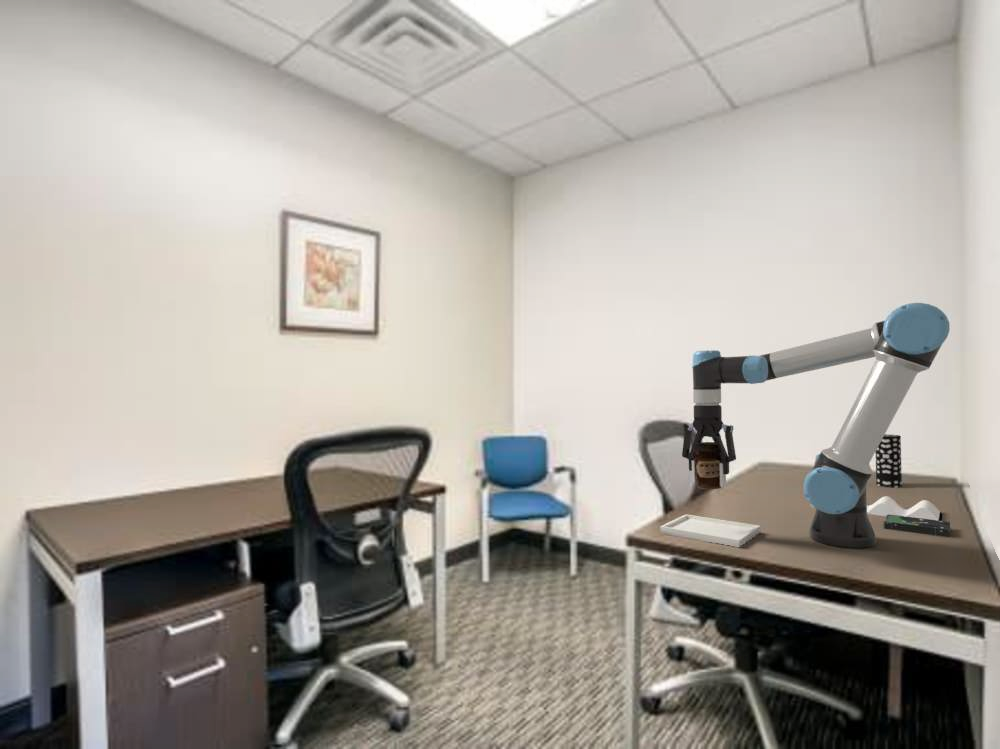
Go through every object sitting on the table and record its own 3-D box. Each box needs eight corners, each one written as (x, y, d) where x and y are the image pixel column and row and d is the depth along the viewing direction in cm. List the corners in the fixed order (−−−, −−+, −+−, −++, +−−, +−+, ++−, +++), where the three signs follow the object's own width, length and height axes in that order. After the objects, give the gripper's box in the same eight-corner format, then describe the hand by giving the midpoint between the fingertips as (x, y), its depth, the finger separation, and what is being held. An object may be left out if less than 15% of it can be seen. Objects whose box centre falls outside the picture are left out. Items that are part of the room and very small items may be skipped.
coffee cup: (728, 491, 152) (727, 444, 153) (696, 490, 154) (695, 444, 154) (721, 485, 161) (721, 441, 161) (692, 484, 163) (691, 440, 163)
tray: (760, 532, 157) (760, 525, 157) (739, 548, 144) (739, 540, 144) (685, 520, 172) (685, 514, 172) (660, 533, 158) (659, 526, 158)
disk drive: (950, 531, 157) (887, 522, 167) (950, 521, 157) (886, 513, 167) (949, 539, 149) (883, 530, 159) (949, 529, 149) (883, 520, 159)
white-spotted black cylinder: (907, 487, 215) (905, 436, 215) (885, 487, 215) (884, 436, 215) (892, 483, 223) (890, 434, 223) (871, 483, 223) (870, 434, 223)
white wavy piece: (943, 525, 164) (943, 507, 164) (810, 508, 186) (810, 493, 186) (944, 516, 174) (943, 499, 174) (818, 501, 196) (818, 487, 196)
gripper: (748, 404, 154) (750, 486, 154) (679, 403, 167) (680, 478, 167) (739, 405, 148) (741, 490, 148) (668, 404, 162) (669, 482, 162)
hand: (708, 483), depth 158 cm, fingers closed on coffee cup, 7 cm apart
